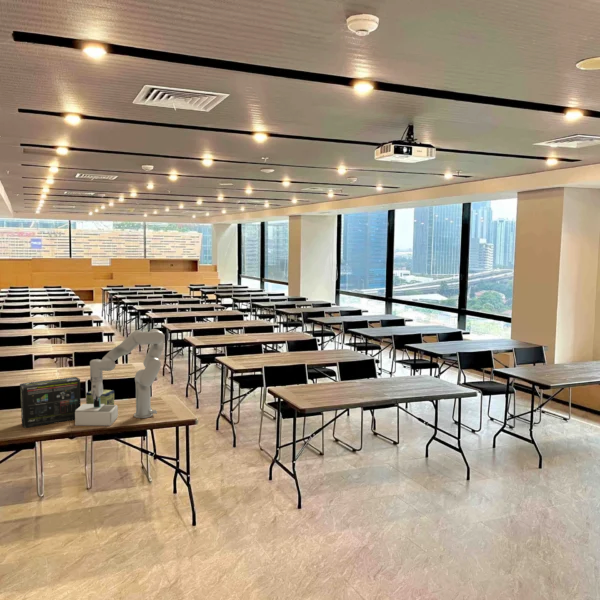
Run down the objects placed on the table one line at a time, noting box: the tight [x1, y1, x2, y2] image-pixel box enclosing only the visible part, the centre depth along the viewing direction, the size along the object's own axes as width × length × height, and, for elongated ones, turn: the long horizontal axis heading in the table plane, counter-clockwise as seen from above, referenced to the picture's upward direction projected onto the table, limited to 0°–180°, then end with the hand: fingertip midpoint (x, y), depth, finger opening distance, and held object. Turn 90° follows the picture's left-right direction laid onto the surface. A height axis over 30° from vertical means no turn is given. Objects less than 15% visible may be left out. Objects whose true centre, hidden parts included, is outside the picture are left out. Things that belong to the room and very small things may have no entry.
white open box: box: [74, 404, 119, 427], centre depth 371 cm, size 23×16×9 cm
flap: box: [75, 399, 105, 411], centre depth 370 cm, size 14×15×6 cm
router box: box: [19, 376, 82, 429], centre depth 369 cm, size 36×11×27 cm, turn 126°
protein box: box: [85, 389, 115, 405], centre depth 388 cm, size 10×16×16 cm
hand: (97, 406), depth 370 cm, fingers closed
